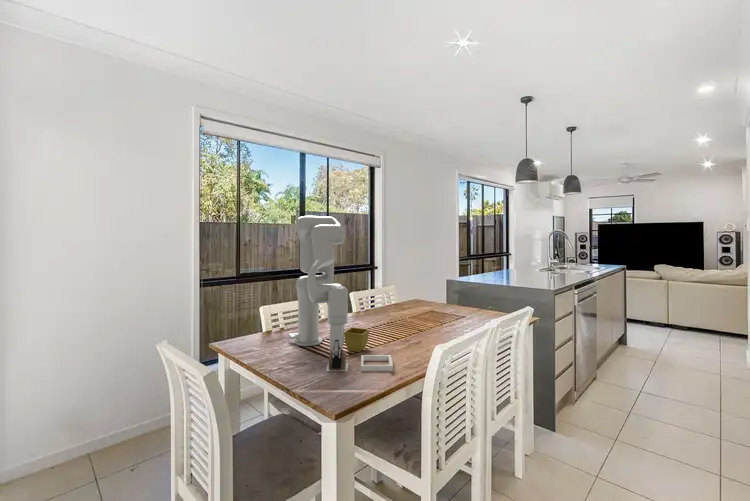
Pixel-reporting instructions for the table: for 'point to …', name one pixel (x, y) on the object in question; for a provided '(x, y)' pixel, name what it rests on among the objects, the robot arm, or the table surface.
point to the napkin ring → (343, 361)
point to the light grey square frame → (376, 367)
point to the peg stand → (338, 370)
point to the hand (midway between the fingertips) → (337, 363)
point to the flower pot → (356, 339)
